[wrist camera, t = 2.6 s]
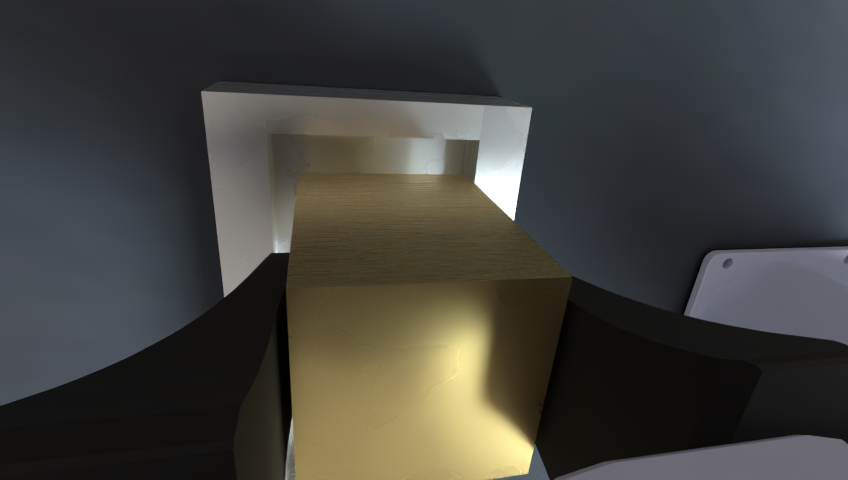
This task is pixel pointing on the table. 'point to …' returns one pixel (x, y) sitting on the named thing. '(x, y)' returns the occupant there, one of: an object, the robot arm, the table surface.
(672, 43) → the table surface
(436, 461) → the brass block
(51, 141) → the table surface
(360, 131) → the rail
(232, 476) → the robot arm
